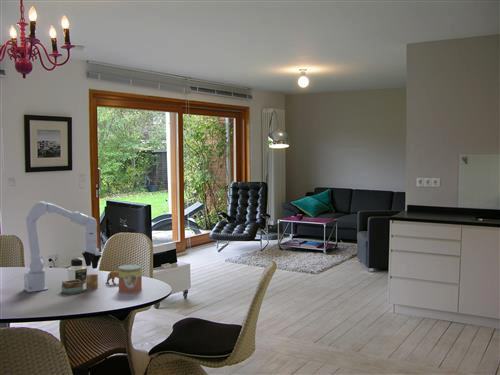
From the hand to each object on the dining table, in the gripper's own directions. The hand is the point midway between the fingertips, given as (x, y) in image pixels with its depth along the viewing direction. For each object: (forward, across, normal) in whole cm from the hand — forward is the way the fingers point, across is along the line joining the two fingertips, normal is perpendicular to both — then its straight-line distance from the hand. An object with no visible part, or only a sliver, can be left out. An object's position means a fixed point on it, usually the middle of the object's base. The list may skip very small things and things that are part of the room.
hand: (91, 267), depth 265 cm
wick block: (+10, -5, +2) cm, 11 cm away
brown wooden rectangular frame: (+7, -5, +12) cm, 15 cm away
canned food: (+10, -21, -11) cm, 26 cm away
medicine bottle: (+10, +14, +2) cm, 17 cm away
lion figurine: (+10, -4, -14) cm, 17 cm away
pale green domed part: (+10, -5, +12) cm, 16 cm away
